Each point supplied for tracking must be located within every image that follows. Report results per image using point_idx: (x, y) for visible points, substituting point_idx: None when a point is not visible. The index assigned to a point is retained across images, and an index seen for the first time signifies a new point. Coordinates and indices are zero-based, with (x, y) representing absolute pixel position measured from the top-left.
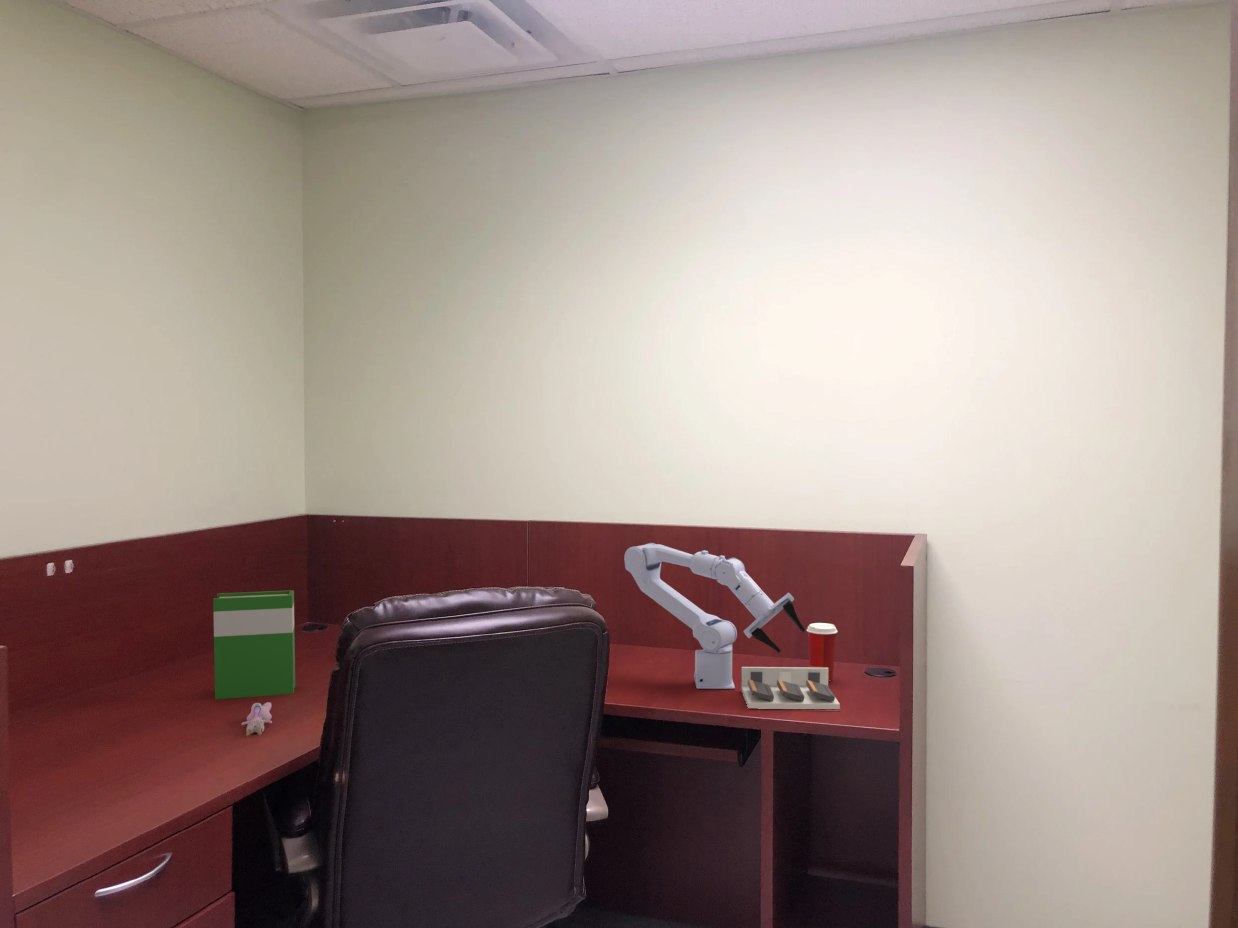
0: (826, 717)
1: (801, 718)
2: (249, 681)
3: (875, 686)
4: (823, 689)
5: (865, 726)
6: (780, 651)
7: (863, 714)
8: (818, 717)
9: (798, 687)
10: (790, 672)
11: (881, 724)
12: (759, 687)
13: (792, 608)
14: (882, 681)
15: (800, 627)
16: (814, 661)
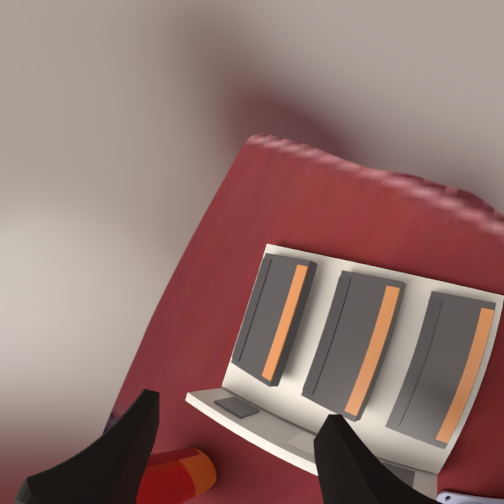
0: (327, 202)
1: (388, 201)
2: None
3: (142, 379)
4: (263, 311)
5: (278, 147)
6: (321, 431)
7: (244, 215)
8: (345, 204)
9: (314, 364)
10: (289, 441)
11: (247, 158)
12: (447, 371)
13: (60, 475)
14: (125, 397)
15: (150, 404)
16: (182, 480)
